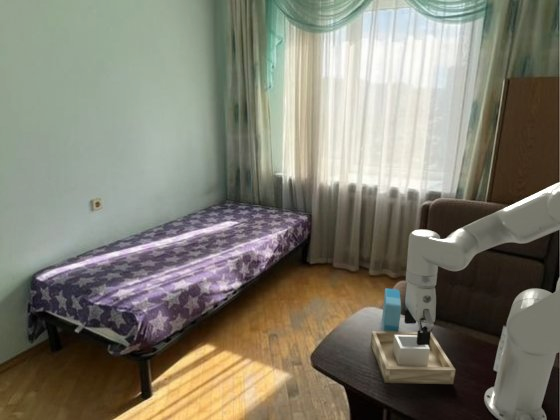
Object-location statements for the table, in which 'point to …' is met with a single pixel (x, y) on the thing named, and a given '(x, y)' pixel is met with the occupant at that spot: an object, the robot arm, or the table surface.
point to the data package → (391, 310)
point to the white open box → (410, 351)
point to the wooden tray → (392, 373)
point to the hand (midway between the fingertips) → (416, 333)
